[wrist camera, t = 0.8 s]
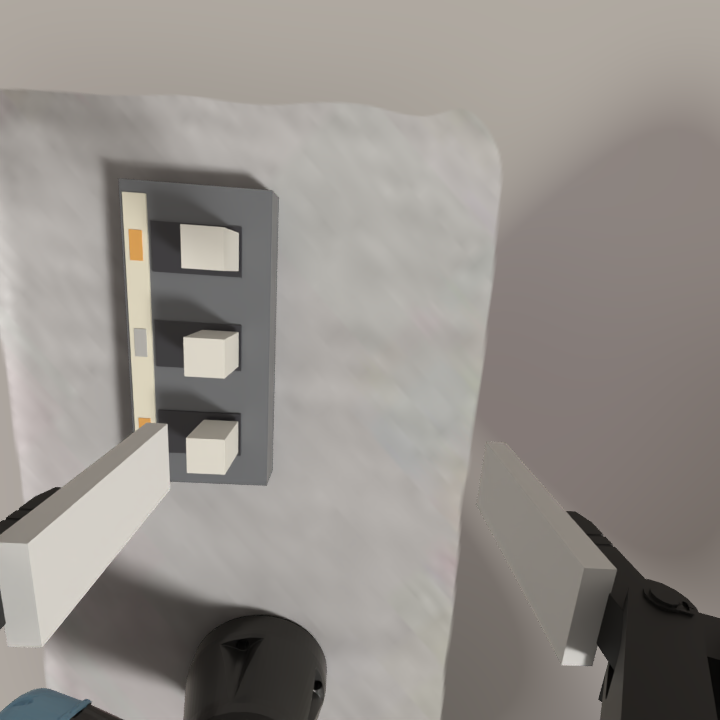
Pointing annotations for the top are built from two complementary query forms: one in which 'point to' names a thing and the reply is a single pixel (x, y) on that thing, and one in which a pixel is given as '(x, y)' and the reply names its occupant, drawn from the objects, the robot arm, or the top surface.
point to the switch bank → (201, 318)
